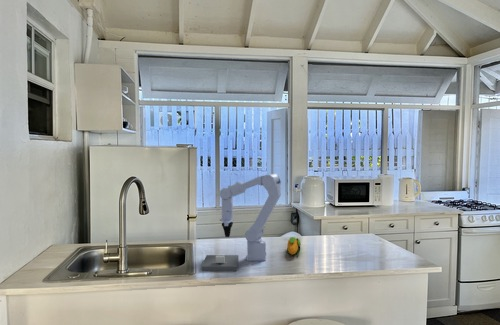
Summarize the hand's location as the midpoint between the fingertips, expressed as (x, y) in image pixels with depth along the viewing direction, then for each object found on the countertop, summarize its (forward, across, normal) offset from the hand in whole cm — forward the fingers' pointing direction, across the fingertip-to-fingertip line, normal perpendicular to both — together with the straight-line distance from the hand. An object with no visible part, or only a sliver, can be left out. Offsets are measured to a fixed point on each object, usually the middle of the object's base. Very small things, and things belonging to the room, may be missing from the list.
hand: (227, 236), depth 175 cm
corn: (+10, -2, +35) cm, 36 cm away
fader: (+7, +18, -2) cm, 20 cm away
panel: (+9, +15, -2) cm, 18 cm away
